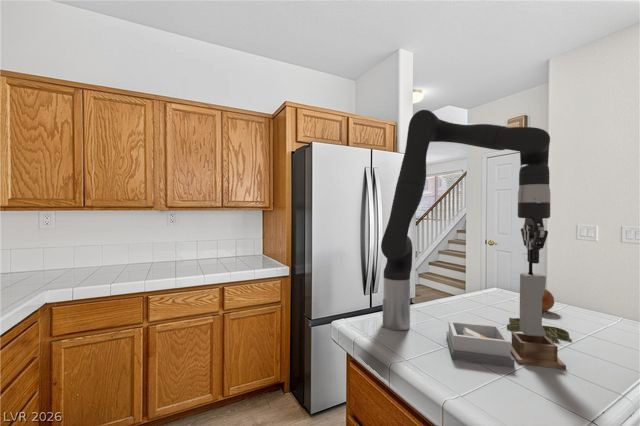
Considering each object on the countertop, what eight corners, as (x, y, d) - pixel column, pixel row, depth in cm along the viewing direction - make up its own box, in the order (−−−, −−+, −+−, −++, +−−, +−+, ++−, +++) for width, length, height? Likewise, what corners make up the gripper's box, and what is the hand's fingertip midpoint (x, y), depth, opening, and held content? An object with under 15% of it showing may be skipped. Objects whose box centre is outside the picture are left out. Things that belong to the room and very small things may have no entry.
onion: (520, 306, 131) (520, 283, 131) (545, 307, 130) (545, 284, 130) (532, 313, 121) (533, 289, 121) (560, 315, 120) (560, 290, 120)
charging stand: (517, 363, 81) (517, 344, 81) (505, 345, 92) (505, 329, 92) (566, 369, 78) (566, 350, 78) (547, 350, 88) (547, 333, 88)
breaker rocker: (464, 336, 87) (467, 331, 87) (462, 331, 91) (464, 326, 91) (490, 348, 85) (492, 343, 85) (486, 342, 89) (488, 338, 89)
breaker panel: (452, 359, 83) (452, 337, 83) (446, 337, 98) (446, 319, 98) (514, 367, 79) (514, 344, 79) (498, 343, 93) (498, 324, 93)
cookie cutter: (500, 328, 106) (500, 323, 106) (512, 321, 114) (512, 315, 114) (565, 346, 93) (565, 339, 93) (573, 335, 101) (573, 329, 101)
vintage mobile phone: (545, 337, 83) (546, 246, 83) (525, 335, 84) (526, 245, 84) (538, 331, 86) (539, 244, 86) (519, 330, 87) (520, 244, 87)
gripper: (511, 202, 92) (510, 258, 92) (526, 200, 80) (526, 266, 80) (539, 202, 90) (539, 260, 90) (560, 200, 77) (560, 267, 77)
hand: (533, 262), depth 85 cm, fingers closed on vintage mobile phone, 1 cm apart
